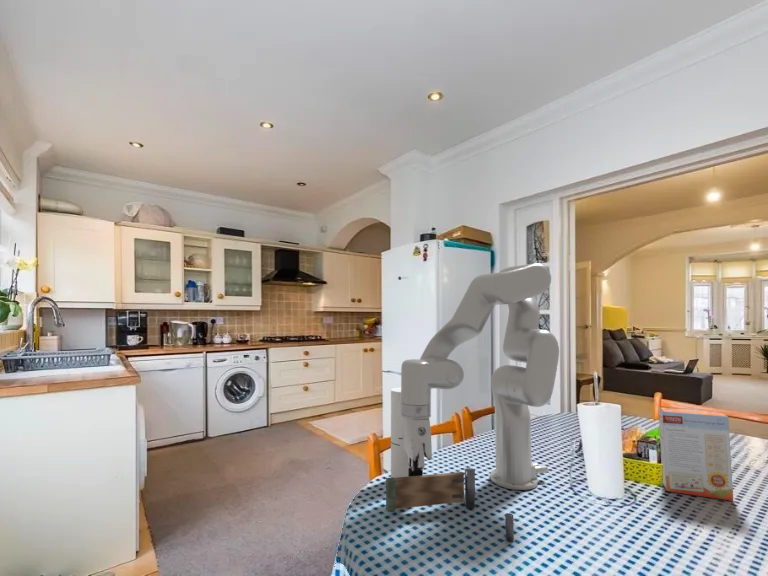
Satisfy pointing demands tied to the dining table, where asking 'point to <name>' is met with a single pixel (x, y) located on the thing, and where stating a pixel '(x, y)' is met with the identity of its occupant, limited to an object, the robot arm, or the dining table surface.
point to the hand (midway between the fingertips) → (415, 485)
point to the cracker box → (696, 452)
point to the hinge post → (469, 488)
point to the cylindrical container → (397, 437)
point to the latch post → (509, 527)
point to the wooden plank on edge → (424, 490)
